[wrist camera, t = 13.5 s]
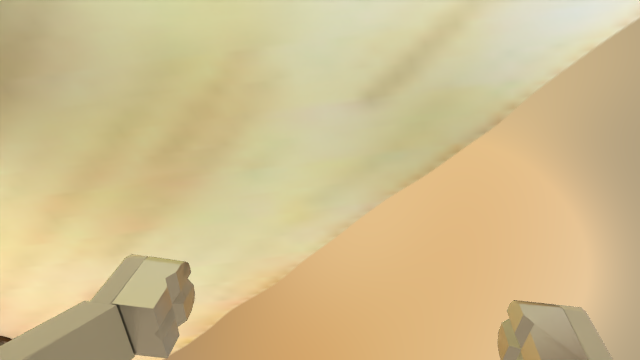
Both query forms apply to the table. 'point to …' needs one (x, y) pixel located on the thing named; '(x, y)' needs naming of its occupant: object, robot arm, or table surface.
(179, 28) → the table surface
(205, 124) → the table surface
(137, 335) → the robot arm
